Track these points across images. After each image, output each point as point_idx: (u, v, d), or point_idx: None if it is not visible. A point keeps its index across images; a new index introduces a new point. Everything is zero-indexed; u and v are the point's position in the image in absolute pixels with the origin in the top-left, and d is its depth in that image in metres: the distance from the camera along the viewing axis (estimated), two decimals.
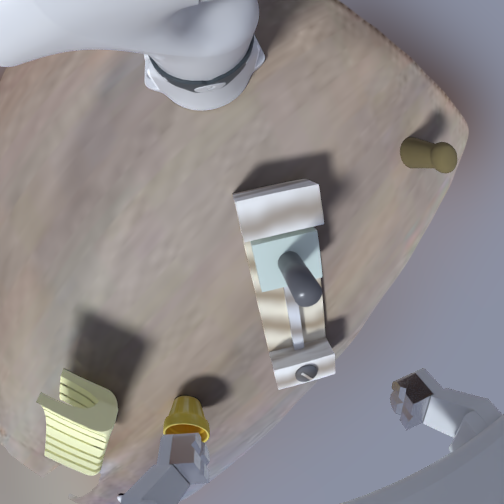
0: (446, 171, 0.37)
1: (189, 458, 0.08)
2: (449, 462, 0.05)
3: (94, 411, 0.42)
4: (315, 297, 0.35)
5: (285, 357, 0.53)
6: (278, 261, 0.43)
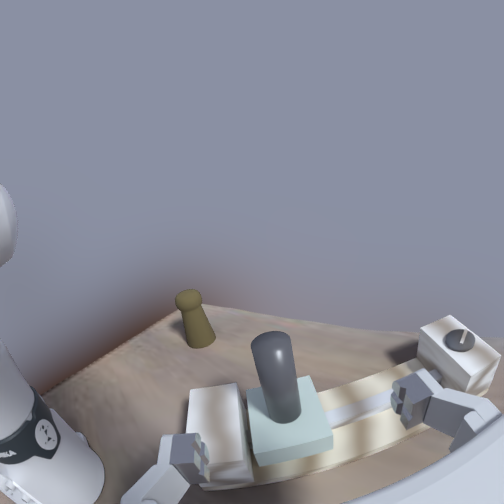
0: (197, 294, 0.53)
1: (189, 458, 0.08)
2: (449, 462, 0.05)
3: None
4: (276, 335, 0.26)
5: (453, 378, 0.26)
6: (280, 421, 0.26)
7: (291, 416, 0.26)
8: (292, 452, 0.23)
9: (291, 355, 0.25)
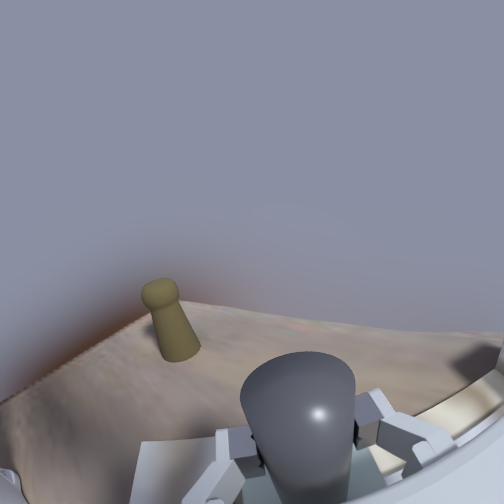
0: (171, 285, 0.36)
1: (251, 451, 0.08)
2: (449, 462, 0.05)
3: None
4: (312, 364, 0.09)
5: None
6: None
7: None
8: None
9: (353, 416, 0.08)
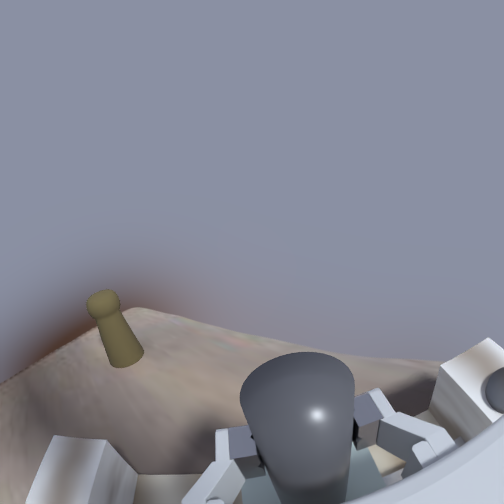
0: (110, 296, 0.36)
1: (250, 451, 0.08)
2: (449, 462, 0.05)
3: None
4: (311, 365, 0.09)
5: None
6: None
7: None
8: None
9: (352, 417, 0.08)
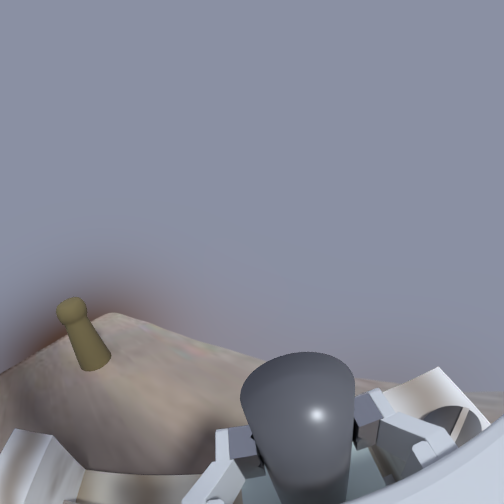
0: (76, 304, 0.36)
1: (250, 451, 0.08)
2: (449, 461, 0.05)
3: None
4: (311, 365, 0.09)
5: None
6: None
7: None
8: None
9: (352, 416, 0.08)
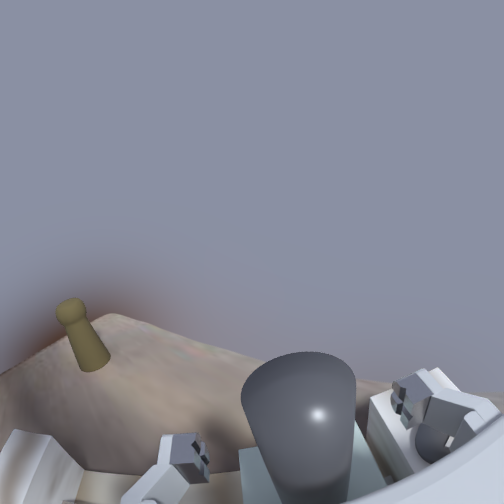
0: (76, 305, 0.35)
1: (189, 458, 0.08)
2: (449, 462, 0.05)
3: None
4: (312, 364, 0.09)
5: None
6: None
7: None
8: None
9: (354, 416, 0.08)
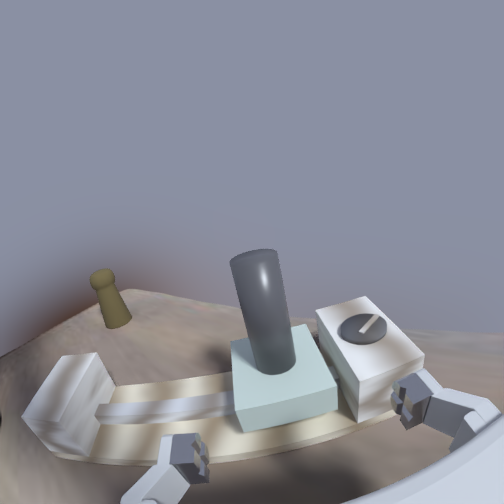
0: (107, 273, 0.49)
1: (189, 458, 0.08)
2: (449, 462, 0.05)
3: None
4: (261, 251, 0.22)
5: (347, 382, 0.22)
6: (270, 372, 0.23)
7: (283, 364, 0.22)
8: (285, 411, 0.20)
9: (279, 273, 0.21)
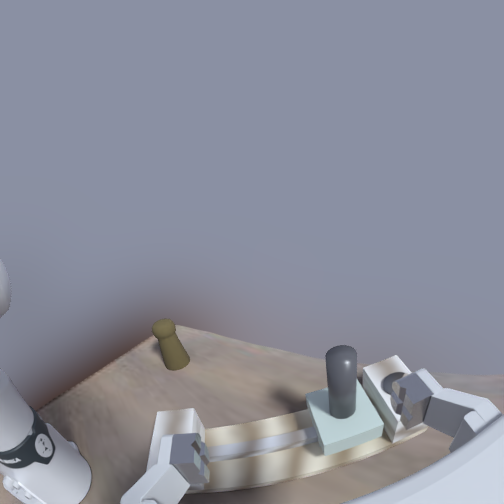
0: (170, 324, 0.57)
1: (189, 458, 0.08)
2: (449, 462, 0.05)
3: None
4: (344, 348, 0.31)
5: (386, 418, 0.31)
6: (341, 417, 0.31)
7: (350, 412, 0.31)
8: (352, 441, 0.28)
9: (356, 363, 0.30)
